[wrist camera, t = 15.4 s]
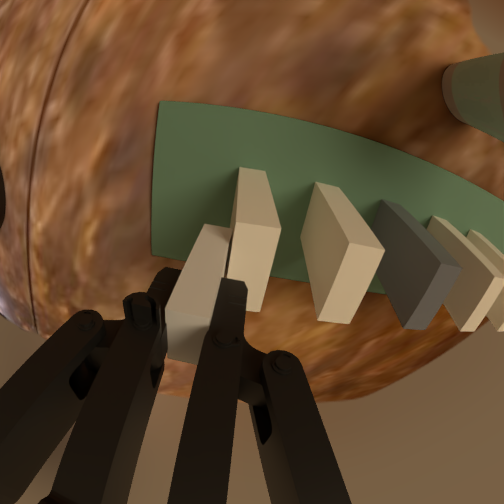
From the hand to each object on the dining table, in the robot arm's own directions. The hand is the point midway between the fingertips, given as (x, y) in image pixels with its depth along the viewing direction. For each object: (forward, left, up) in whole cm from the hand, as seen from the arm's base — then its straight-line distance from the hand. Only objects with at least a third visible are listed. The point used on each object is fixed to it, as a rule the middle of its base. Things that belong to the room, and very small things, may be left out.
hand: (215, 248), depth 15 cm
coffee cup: (+18, +15, -9) cm, 25 cm away
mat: (+13, 0, -9) cm, 16 cm away
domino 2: (+7, 0, -8) cm, 11 cm away
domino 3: (+19, 0, -8) cm, 21 cm away
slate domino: (+13, 0, -8) cm, 16 cm away
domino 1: (+1, 0, -8) cm, 8 cm away
